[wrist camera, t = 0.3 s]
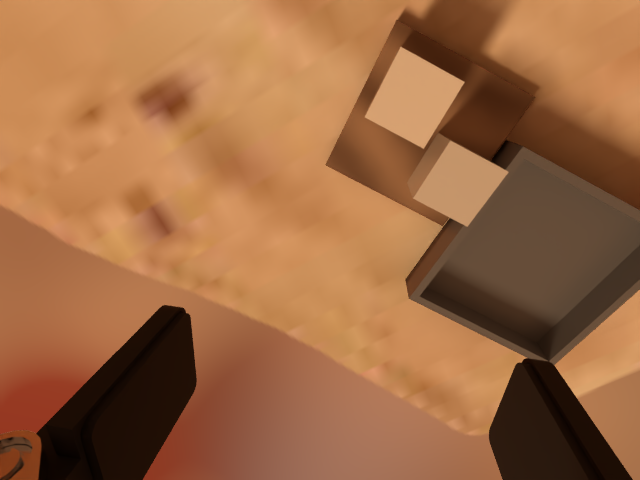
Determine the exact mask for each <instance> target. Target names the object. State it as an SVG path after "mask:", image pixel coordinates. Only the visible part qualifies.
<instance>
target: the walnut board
mask: <svg viewBox="0 0 640 480" xmlns="http://www.w3.org/2000/svg"><path fill="white" fill-rule="evenodd" d="M400 47H402V48H404V49H406V50H408V51H409V52H411V53H413V54H415V55H417V56H418V57H420V58H422V59H424V60H426V61H427V62H429V63H431V64H433V65H435V66H436V67H438V68H440V69H442V70H444V71H445V72H447V73H449V74H451V75H453V76H454V77H456V78H458V79H460V80H462V81H464V82H465V83H464V84H463V86H462V87H461V89H460V91H459V92H458V94H457V96H456V97H455V99H454V100H453V102H452V104H451V105H450V107H449V109H448V110H447V112H446V113H445V115H444V117H443V118H442V120H441V122H440V123H439V125H438V126H437V128H436V130H435V131H434V133H433V135H432V136H431V138H430V139H429V141H428V143H427V144H426V146H425V148H424V149H423V148H421V147H419V146H418V145H416V144H414V143H412V142H410V141H408V140H406V139H404V138H403V137H401V136H399V135H397V134H395V133H393V132H391V131H389V130H388V129H386V128H384V127H382V126H380V125H378V124H376V123H374V122H373V121H371V120H369V119H367V118H365V113H366V111H367V109H368V107H369V105H370V103H371V101H372V99H373V97H374V96H375V94H376V92H377V90H378V88H379V86H380V84H381V82H382V80H383V78H384V76H385V74H386V72H387V70H388V68H389V66H390V64H391V62H392V60H393V58H394V56H395V54H396V53H397V51H398V50H399V48H400ZM534 98H535V97H534V96H532V95H530V94H529V93H527V92H525V91H523V90H521V89H520V88H518V87H516V86H514V85H512V84H511V83H509V82H507V81H505V80H503V79H502V78H500V77H498V76H496V75H495V74H493V73H491V72H489V71H487V70H486V69H484V68H482V67H480V66H478V65H477V64H475V63H473V62H471V61H470V60H468V59H466V58H464V57H462V56H461V55H459V54H457V53H455V52H453V51H452V50H450V49H448V48H446V47H444V46H443V45H441V44H439V43H437V42H436V41H434V40H432V39H430V38H428V37H427V36H425V35H423V34H421V33H419V32H418V31H416V30H414V29H412V28H411V27H409V26H407V25H405V24H403V23H402V22H400V21H398V20H396V22H395V25H394V27H393V29H392V31H391V33H390V35H389V37H388V39H387V41H386V43H385V45H384V47H383V49H382V51H381V53H380V55H379V57H378V59H377V61H376V63H375V65H374V67H373V69H372V71H371V73H370V75H369V77H368V79H367V81H366V84H365V86H364V88H363V90H362V92H361V94H360V96H359V98H358V100H357V102H356V104H355V106H354V108H353V110H352V112H351V114H350V116H349V118H348V120H347V122H346V124H345V126H344V128H343V130H342V132H341V134H340V136H339V138H338V140H337V143H336V145H335V147H334V149H333V151H332V153H331V155H330V157H329V159H328V161H327V163H326V166H328V167H330V168H332V169H334V170H336V171H338V172H340V173H342V174H344V175H345V176H347V177H349V178H351V179H353V180H355V181H357V182H359V183H361V184H363V185H365V186H367V187H369V188H371V189H372V190H374V191H376V192H378V193H380V194H382V195H384V196H386V197H388V198H390V199H392V200H394V201H396V202H398V203H399V204H401V205H403V206H405V207H407V208H409V209H411V210H413V211H415V212H417V213H419V214H421V215H423V216H424V217H426V218H428V219H430V220H432V221H434V222H436V223H438V224H440V225H442V226H443V225H444V224H445V222H446V221H447V220H448V218H449V217H448V216H446V215H444V214H442V213H440V212H438V211H436V210H434V209H432V208H430V207H428V206H426V205H425V204H423V203H421V202H419V201H417V200H415V199H413V197H412V195H411V192H410V189H409V187H408V184H407V182H408V180H409V179H410V177H411V175H412V174H413V172H414V171H415V169H416V167H417V166H418V164H419V163H420V161H421V159H422V158H423V156H424V154H425V153H426V151H427V150H428V148H429V146H430V145H431V143H432V142H433V140H434V138H435V137H436V135H437V134H438V133H440V134H442V135H443V136H445V137H447V138H449V139H451V140H453V141H455V142H456V143H458V144H460V145H462V146H464V147H466V148H468V149H469V150H471V151H473V152H475V153H477V154H479V155H481V156H482V157H484V158H486V159H488V160H491V158H492V157H493V156H494V154H495V153H496V151H497V150H498V149H499V147H500V146H501V144H502V143H503V142H504V140H505V139H506V137H507V136H508V135H509V133H510V132H511V130H512V129H513V128H514V126H515V125H516V123H517V122H518V121H519V119H520V118H521V117H522V115H523V114H524V112H525V111H526V110H527V108H528V107H529V105H530V104H531V103H532V101H533V100H534Z"/></svg>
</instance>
